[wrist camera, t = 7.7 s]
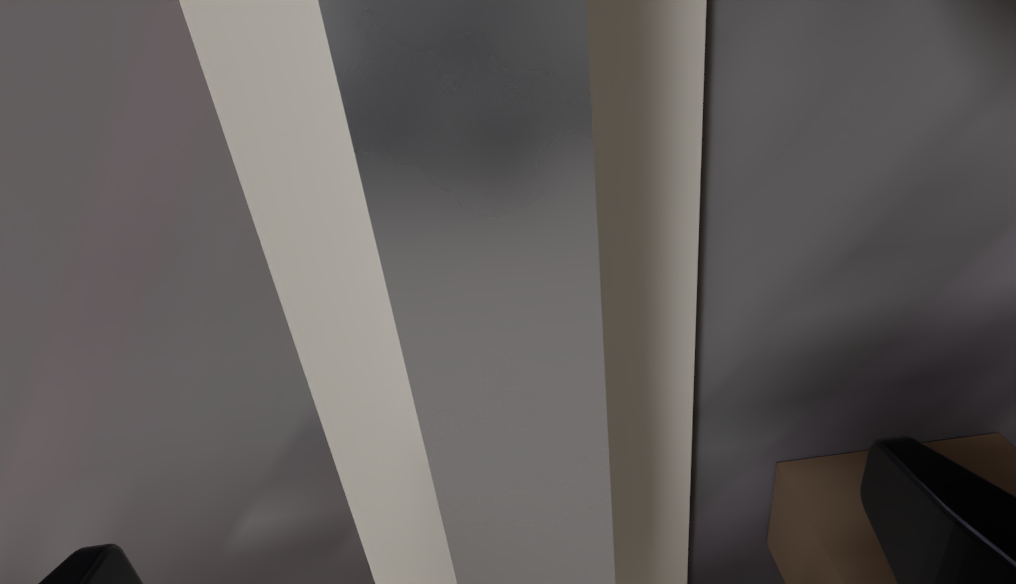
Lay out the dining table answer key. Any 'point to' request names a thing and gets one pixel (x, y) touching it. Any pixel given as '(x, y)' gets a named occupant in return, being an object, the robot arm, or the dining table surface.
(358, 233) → the mat
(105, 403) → the dining table surface
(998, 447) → the post
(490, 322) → the rail
